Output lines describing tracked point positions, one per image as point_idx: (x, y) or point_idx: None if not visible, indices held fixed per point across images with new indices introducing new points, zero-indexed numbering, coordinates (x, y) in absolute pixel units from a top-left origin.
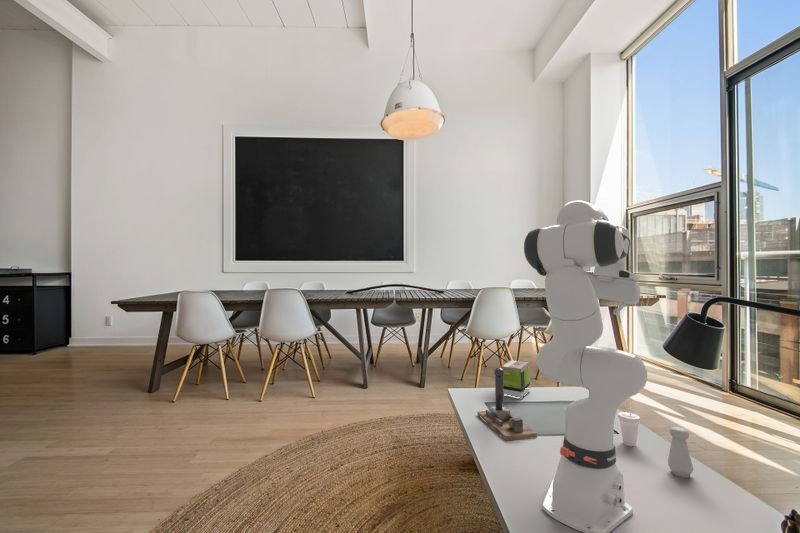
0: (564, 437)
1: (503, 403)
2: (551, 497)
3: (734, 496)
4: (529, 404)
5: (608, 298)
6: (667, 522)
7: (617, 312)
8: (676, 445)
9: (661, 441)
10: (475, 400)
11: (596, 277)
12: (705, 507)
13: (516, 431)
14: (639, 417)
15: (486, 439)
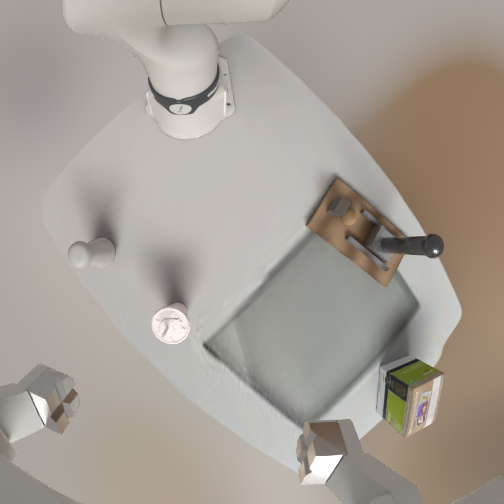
0: (217, 63)
1: (387, 245)
2: (222, 73)
3: (61, 235)
4: (363, 358)
5: (31, 482)
6: (116, 122)
7: (32, 370)
8: (90, 244)
9: (144, 356)
10: (431, 300)
11: None
12: (83, 182)
13: (333, 201)
14: (152, 327)
15: (356, 165)
